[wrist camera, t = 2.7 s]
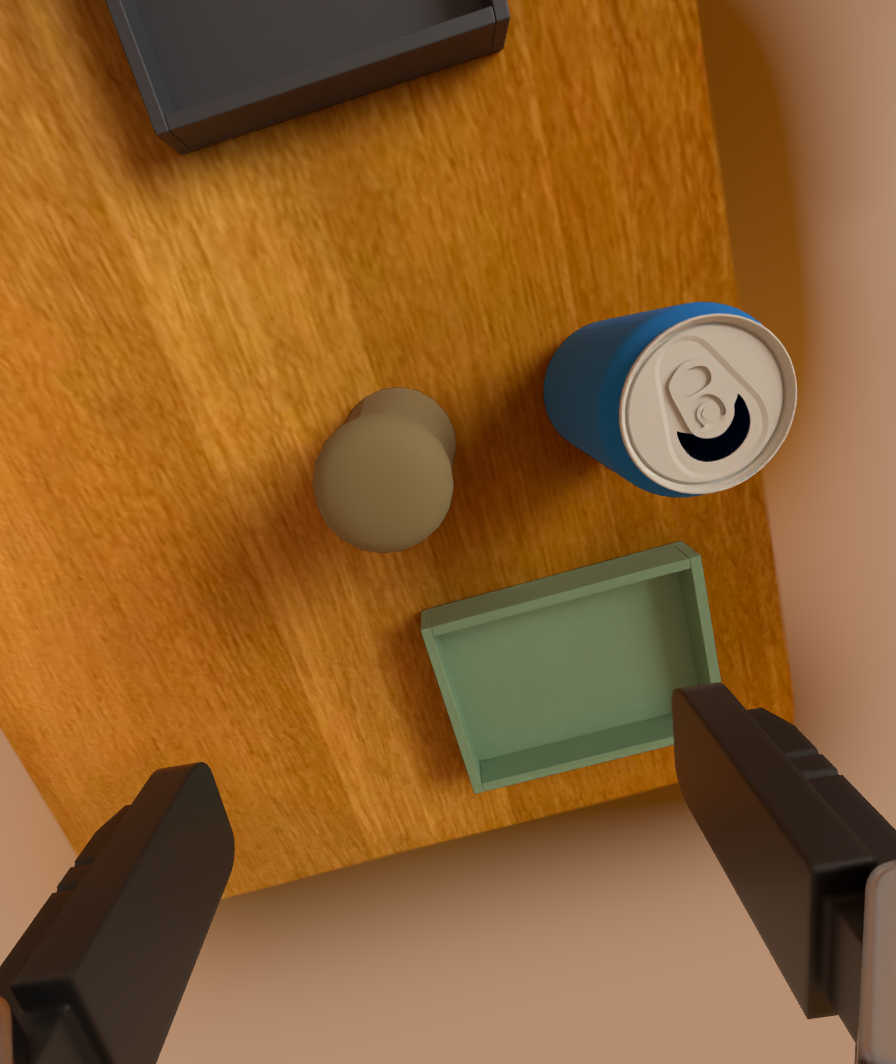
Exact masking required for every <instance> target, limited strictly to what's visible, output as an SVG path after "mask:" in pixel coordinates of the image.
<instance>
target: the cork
mask: <svg viewBox="0 0 896 1064" xmlns="http://www.w3.org/2000/svg"><path fill="white" fill-rule="evenodd" d="M455 452H456V440H455V432H454V428H453V426H452V424H451V422H450V420H449V418H448V415H447V413H446V412H445V411H444V410H443V409H442V408H441V407H440V406H439V405H438V404H437V403H436V401H435V400H434V399H432V398H430V397H428V396H426V395H425V394H423V393H421V392H419V391H417V390H412V389H406V388H401V387H397V388H389V389H382V390H379V391H377V392H375V393H373V394H371V395H369V396H367V397H365V398H364V399H363V400H362V401H361V402H360V403H359V404H358V405H357V406H356V407H355V408H354V409H353V410H352V411H351V414H350V416H349V418H348V420H347V422H346V424H344V425H342V426H340V427H339V428H338V429H337V430H336V431H335V432H334V433H333V434H332V435H331V436H330V437H329V438H328V439H327V440H326V441H325V443H324V445H323V447H322V449H321V451H320V453H319V455H318V457H317V459H316V461H315V467H314V475H313V483H312V484H313V489H314V494H315V499H316V504H317V508H318V510H319V512H320V513H321V515H322V517H323V519H324V521H325V522H326V524H327V526H328V527H329V528H330V529H331V530H332V531H333V532H334V533H336V534H337V535H338V536H339V537H340V538H341V539H342V540H343V541H345V542H347V543H349V544H351V545H353V546H355V547H357V548H359V549H361V550H365V551H371V552H377V553H389V552H397V551H403V550H406V549H408V548H410V547H412V546H414V545H416V544H419V543H421V542H422V541H424V540H425V539H426V538H427V537H428V536H429V535H430V534H431V533H433V532H434V531H435V530H436V529H437V528H438V527H439V526H440V524H441V522H442V521H443V519H444V517H445V515H446V514H447V512H448V510H449V508H450V504H451V499H452V494H453V489H454V485H453V477H452V469H451V468H452V466H453V463H454V457H455Z"/></svg>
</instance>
